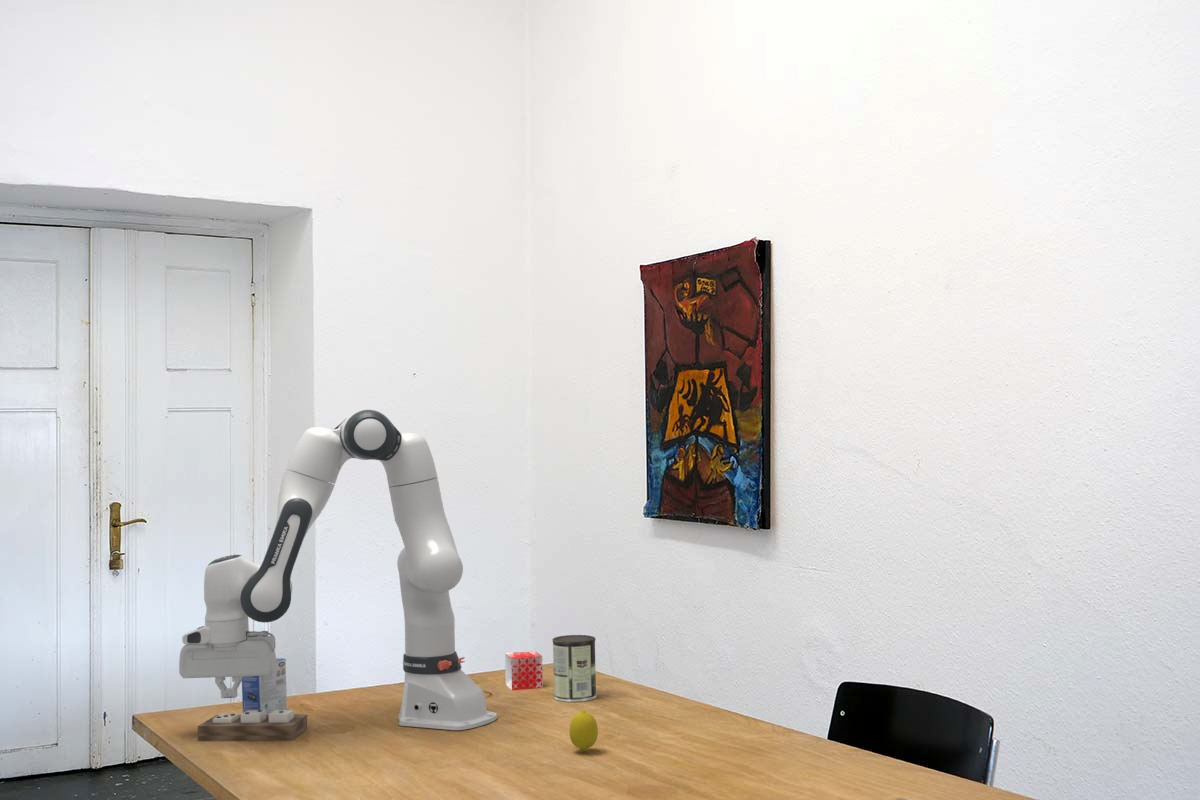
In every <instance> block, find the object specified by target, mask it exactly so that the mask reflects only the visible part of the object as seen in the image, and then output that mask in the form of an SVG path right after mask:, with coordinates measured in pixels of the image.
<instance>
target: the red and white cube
mask: <svg viewBox="0 0 1200 800" xmlns="http://www.w3.org/2000/svg"><path fill="white" fill-rule="evenodd" d="M504 658H505V659H504V661H505V662H504V664H505V666H504V667H505V669H504V670H505V672H504V673H505V676H504V677H505V685H506V686H507V687H508V688H509V689H510V690H511V691H521V690H534V689H535V690H536V689H543V688H544V679H543V674H544V673H543V670H544V669H543V655H542V654H540V653H539V652H538V651H536V650H529V651H517V652H516V651H515V652H505V653H504Z"/></svg>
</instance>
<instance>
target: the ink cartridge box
mask: <svg viewBox="0 0 1200 800" xmlns="http://www.w3.org/2000/svg"><path fill="white" fill-rule="evenodd" d="M286 660H287V659H286V658H282V657H276V662H277V669H276V670H275V672H274V673H272V674H271V675H268V676H242V681H241V693H242V694H241V697H242V698H241V699H242V701H241V702H242V714H243V713H244V712H246V711H248V710H266V715H269V714H270V713H272V712H273V711H275V710H288V703H287V702H288V697H287V667H286V665H287V663H286Z"/></svg>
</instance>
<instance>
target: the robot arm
mask: <svg viewBox="0 0 1200 800" xmlns="http://www.w3.org/2000/svg"><path fill="white" fill-rule="evenodd" d="M427 441H428V440H426V438H425V437H424V436H423V435H421V434H419V433H416V432H410V431H409V432H408V431H407V432H400V431H399V430H398V429H397V427H396V426H395V425H394V423H392V421H391V420H390V419H389V418H388V417H387V416H386V415H384V414H383V413H381V412H380V411H377V410H375V409H374V410H373V409H368V408H367V409H358V410H356V411H354V412H352V413H351V414H349V415H348V416H347V417H346V418H345V419H344V420H342V421H341V422H340V423H339V424H338V425H337V426H336V427H335V428H334V429H333V428H328V427H325V426H315V427H314V426H313V427H309V428H308V429H306V430H305V431H304V432H303V434H302V435H301V436H300V438H299V440H298V442H297V443H296V445H295V446H294V449H293V451H292V453H291V455H290V458H289V459H288V462H287V463H286V468H285V469H284V470H285V471H284V473H283V475H282V479H281V482H280V483H281V484H280V486H279V493H278V499H277V501H278V502H277V516H276V522H275V527H274V531H273V533H272V536H271V539H270V541H269V545H268V547H267V549H266V552H265V554H264V558H263V561H262V563H261V564H259V563H257V562H256V563H255V562H253V561H252V560H250V559H248V558H246V557H245V556H243V555H241V554H230V555H226V556H222V557H219V558H216V559H214V560H212V561H211V562H210V563H208V565H207V566H206V567H205V571H204V577H203V579H204V582H203V600H204V605H205V608H206V612H205V616H204V625H202V626H199V627H198V628H196V629H194V630H191V631H189V632H187V633H185V634H183V635H182V639H181V640H182V643H183V646H182V647H181V649H180V652H179V662H178V666H179V667H178V670H179V671H178V672H179V675H180V677H182V678H183V679H202V678H203V679H204V678H205V679H208V678H209V679H211V678H214V680H215V681H214V682H215V684H216V686H217V688H218V689H219V690H220V697H221V699H236V698H237V697H238V696H239V695H238V689H239V687H240V685H241V684H242V676H268V675H271V674H272V673H274V672H275V670H276V669H277V662H276V658H277V656H276V650H275V649H276V638H275V636H274V634H273V633H271V632H269V631H268V630H262V631H256V630H250V629H249V618H250V619H251V620H252V621H254V622H258V623H271V622H274V621H277V620H278V619H281V618H282V617H283V616H284V615H285V614H286V613H287V612H288V610H289V608H290V606H291V602H292V592H293V584H292V581H291V579H292V572H293V570H294V566H295V563H296V561H297V558H298V556H299V553H300V550H301V548H302V545H303V542H304V539H305V537H306V536H307V533H308V532H309V530H310V529H311V527H312V526H313V524H314V523H315V521H316V520H317V519H318V518H319V516H320V515H321V513H322V512H323V510H324V509H325V507H326V505H327V503H328V502H329V499H331V498H330V497H331V495H332V492H333V491H334V488H335V484H336V482H337V479H338V477H339V473H340V472H341V470H342V468H343V465H344V464H345V463H346V462H347V461H349V460H351V459H357V460H362V461H363V460H364V461H369V460H372V461H373V460H375V461H379V462H380V463H381V464H382V466H383V468H384V470H385V474H386V478H387V480H386V481H387V486H388V491H389V497H390V502H391V506H392V511H393V512H392V513H393V518H394V521H395V524H396V526H397V528H398V531H399V534H400V536H401V539H402V543H403V545H404V547H403V549H401V551H400V553H399V555H398V557H397V560H396V562H397V563H396V565H397V569H398V576H399V585H400V594H401V595H400V596H401V601H402V608H403V615H404V616H403V617H404V646H405V647H404V654H403V656H402V658H403V659H402V670H403V671H404V681H403V690H402V699H401V704H400V705H401V706H400V709H399V710H400V711H399V713H398V716H397V719H398V721H399V722H398V724H399V725H398V726H400V727H405V726H406V727H413V728H414V727H415V728H426V729H438V730H447V731H464V730H468V729H474V728H477V727H481V726H485V725H488V724H490V723H492V722H494V721H496V720H497V719H498V713H497V712H493V711H490V710H487V701H486V696H485V692H484V691H483V689H482V688H481V687H480V686H478V685H477V684H476V683H475V682H474V681H473V679H471V678H470V677H469V676H468V675H467V674H466V673H465V672H464V671H463V670H462V663H465V662H466V661H465V660H464V659H465V656H464V657H459V656H458V653H457V651H456V640H455V639H456V637H455V635H456V634H455V627H456V626H455V625H456V624H455V623H456V621H455V614H454V611H453V607H452V603H451V598H450V597H451V596H450V591H451V590H452V589H454V588H455V587H456V586H457V585H458V584H459V583H460V581H461V580H462V577H463V573H464V565H463V561H462V559H461V557H460V555H459V553H458V551H457V547H456V542H455V539H454V536H453V533H452V531H451V528H450V524H449V522H448V519H447V516H446V513H445V510H444V504H443V499H442V495H441V494H442V493H441V489H440V483H439V479H438V473H437V469H436V465H435V462H434V461H435V460H434V457H433V454H432V452H431V449H430V446H429V444H428V442H427ZM226 678H231V680H232V682H233V683H234V684H233V685H232V687H229V688H228V687H227V686H226V683H225V682H224V681H226Z"/></svg>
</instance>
